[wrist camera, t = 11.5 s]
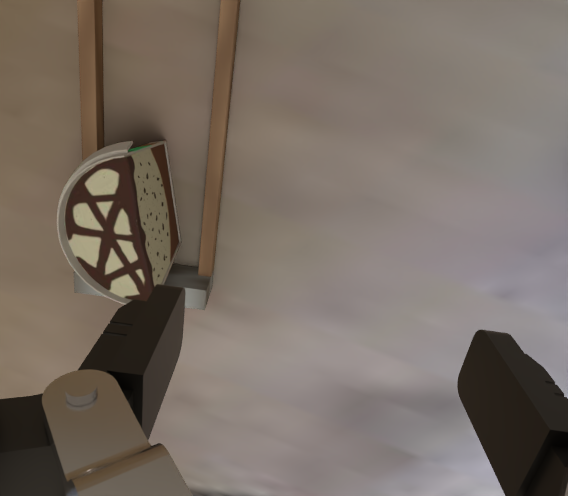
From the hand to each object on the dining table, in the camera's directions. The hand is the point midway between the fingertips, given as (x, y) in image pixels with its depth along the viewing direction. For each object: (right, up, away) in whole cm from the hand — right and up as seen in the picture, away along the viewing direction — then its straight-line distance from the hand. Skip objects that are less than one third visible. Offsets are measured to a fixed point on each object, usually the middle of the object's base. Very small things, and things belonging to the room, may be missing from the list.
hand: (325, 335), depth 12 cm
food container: (-14, +7, +28) cm, 32 cm away
